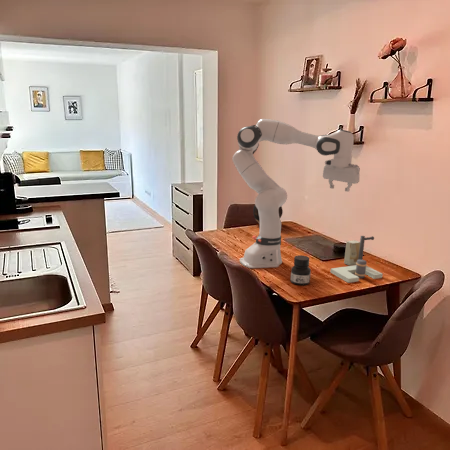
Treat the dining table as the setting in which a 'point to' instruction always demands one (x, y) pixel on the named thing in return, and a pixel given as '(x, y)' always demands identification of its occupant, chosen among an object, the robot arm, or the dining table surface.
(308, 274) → the ink bottle
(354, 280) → the post stand
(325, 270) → the dining table surface
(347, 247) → the skincare box
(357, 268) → the grey banded cylinder
